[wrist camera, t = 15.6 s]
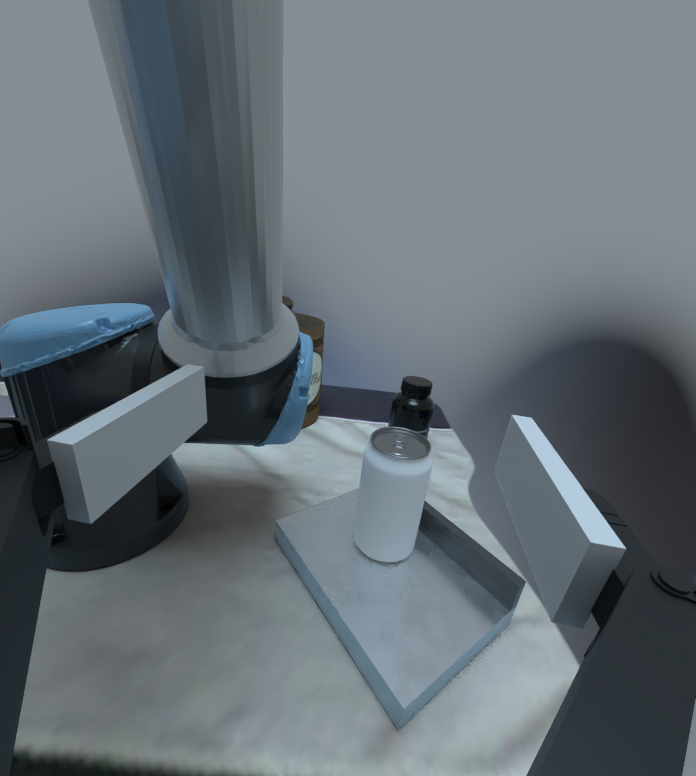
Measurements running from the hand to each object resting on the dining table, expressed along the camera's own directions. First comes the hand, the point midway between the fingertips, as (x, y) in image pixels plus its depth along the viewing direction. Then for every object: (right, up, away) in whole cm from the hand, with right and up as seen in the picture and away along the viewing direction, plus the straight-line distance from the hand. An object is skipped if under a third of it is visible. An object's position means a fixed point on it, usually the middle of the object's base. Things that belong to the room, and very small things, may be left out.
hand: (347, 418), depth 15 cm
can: (+4, -15, +22) cm, 27 cm away
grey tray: (+3, -18, +21) cm, 28 cm away
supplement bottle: (+10, -9, +46) cm, 48 cm away
